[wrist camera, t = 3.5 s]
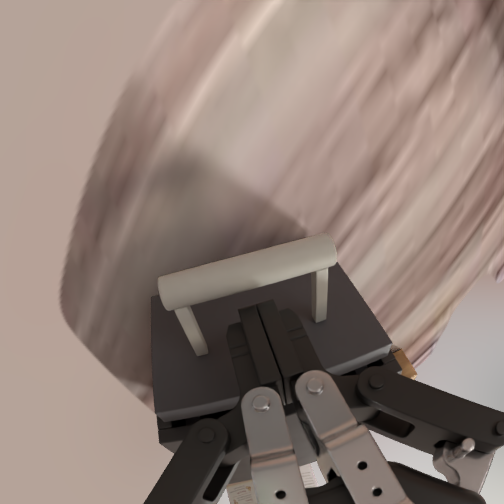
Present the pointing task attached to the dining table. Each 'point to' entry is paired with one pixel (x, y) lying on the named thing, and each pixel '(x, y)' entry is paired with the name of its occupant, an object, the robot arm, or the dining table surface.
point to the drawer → (226, 313)
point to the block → (405, 365)
